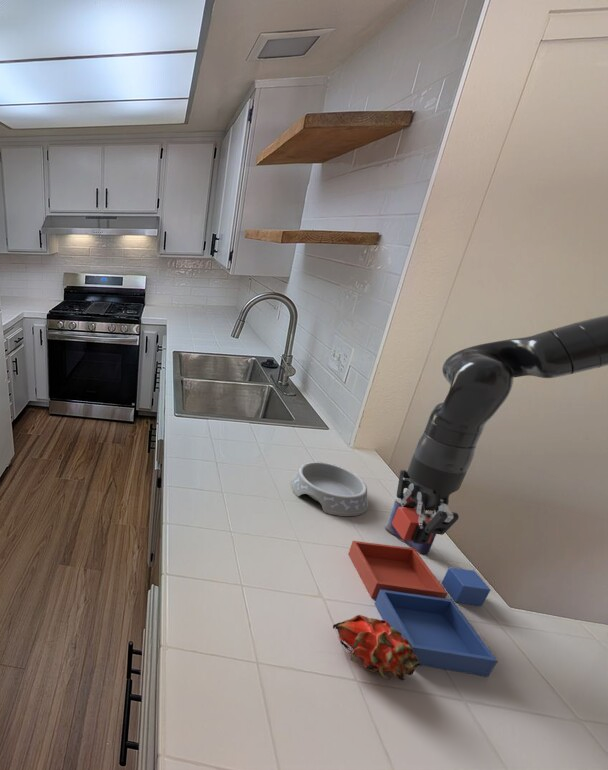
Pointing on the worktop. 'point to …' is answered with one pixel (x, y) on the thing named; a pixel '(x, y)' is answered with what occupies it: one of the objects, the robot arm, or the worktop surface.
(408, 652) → the dragon fruit
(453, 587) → the blue block
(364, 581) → the red bin
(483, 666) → the blue bin
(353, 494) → the dog bowl
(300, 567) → the worktop surface
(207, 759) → the worktop surface
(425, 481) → the robot arm
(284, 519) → the worktop surface
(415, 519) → the red block
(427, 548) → the flask
